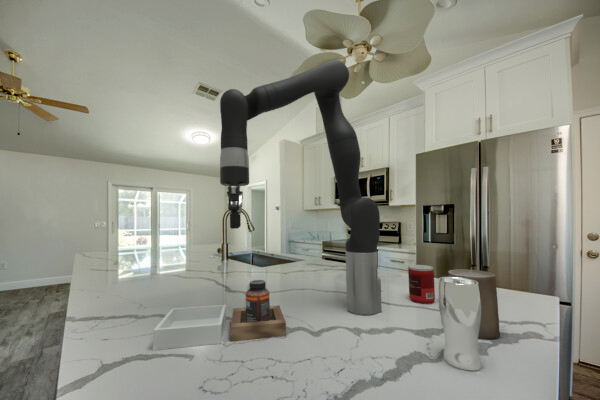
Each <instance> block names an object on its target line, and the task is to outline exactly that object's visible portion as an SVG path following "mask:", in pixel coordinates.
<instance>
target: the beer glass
mask: <svg viewBox="0 0 600 400" xmlns="http://www.w3.org/2000/svg"><path fill="white" fill-rule="evenodd" d="M437 290H438V292H437V294H438V295H437V297H438V299H437V301H438V310H439V316H440V319H441V324H442V328H443V333H444V348H443V359H444V362H446V363H447V364H448V365H449V366H450V365H451V366H452V367H454V368H456V369H458V370H459V369H460V370H462V371H463V370H464V371H467V372H469V371H470V372H475V371H479V370H481V369H482V360H481V356H480V352H479V345H478V344H479V338H478V335H479V329H480V322H481V299H480V292H479V286H478V282H477V281H475V280H472V279H467V278H460V277H449V276H441V277H438V288H437Z"/></svg>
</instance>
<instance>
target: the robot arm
mask: <svg viewBox="0 0 600 400" xmlns="http://www.w3.org/2000/svg"><path fill="white" fill-rule="evenodd" d="M349 80H350V71H349V68H348V67H347V65H346V64H345V63H344V61H343V62H342V61H341V60H338V59H330V60H328V61H326V62H322V63H321V64H320V63H319V65H317V66H315V67H312V68H310V69H308V70H306V71H304V72H301V73H298V74H295V75H293V76H291V77H287V78H284V79H280V80H278V81H274V82H271V83H266V84H262V85H259V86H256V87H254V88H253V89H251V91H250V92H249V93H248V94H247V95H245V93H243V92H241V91H240V90H238V89H235V88H230V89H227V90H226V91H224V92H223V93H222V95H221V97H220V102H219V109H220V111H219V112H220V120H221V131H220V154H219V175H220V176H219V177H220V178H219V182H220V185H222V186H225V187H227V190H228V191H226V197H227V209H228V213H229V229H232V230H233V229H239V228H241V225H242V222H241V221H242V219H241V214H242V208H243V199H244V194H243V193H244V192H243V191H242V190H241V187H245V186H248V185H249V184H250V160H249V159H250V158H249V154H248V134H247V132H248V121H250V120H252V119H254V118H256V117H258V116H259V115H261V114H264V113H268V112H272V111H275V110H278V109H281V108H284V107H285V106H288V105H291V104H292V103H294V102H296V101H297V100H299V99H302V98H303V97H305V96H307V95H310V94H312V93H313V94H314V97H315V99H316V102H317V105H318V108H319V111H320V114H321V120H322V122H323V128H324V132H325V133H324V134H325V137H326V141H327V146H328V147H327V148H328V151H329V156H330V160H331V164H332V169H333V174H334V178H335V181H336V182H335V183H336V184H337V185H336V186H337V192H338V200H339V208H340V209H339V210H340V215H341V219H342V221H343V223H344V224H345V225H347V226H348V227H349V228H350V235H349V238H348V239H347V240H346V242H345V278H346V279H345V282H346V283H345V286H346V287H345V288H346V293H345V294H346V310H347V311H348V312H350V313H352V314H356V315H359V316H360V315H361V316H363V315H364V316H369V315H370V316H371V315H375V314H377V313H381V312H382V284H381V283H382V282H381V277H379V275H378V244H379V241H380V229H381V227H380V226H381V225H380V224H381V223H380V222H381V220H380V219H381V217H380V210H379V206H378V204H377V202H375V201H374V199H372V198H369V197H362V193H361V189H360V184H359V183H360V182H359V175H360V169H361V168H360V167H361V150H360V145H359V140H358V135H357V132H356V131H355V129H354V127H353V126H352V124H351V123H350V122H349V120H348V119H347V118H346V116H345V115H344V111H343V110H342V106H341V99H340V93H341V92H342V91H343V89H344V88H345V87H346V86H347V84H348V82H349Z"/></svg>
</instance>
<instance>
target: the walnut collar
mask: <svg viewBox="0 0 600 400" xmlns="http://www.w3.org/2000/svg"><path fill="white" fill-rule="evenodd" d="M286 328H287V321H286V320H285V317H284V314H283V311H282V308H281V306H280V305H270V321H259V322H247V323H246V307H239V308H233V311H232V317H231V323H230V342H237V341H238V342H239V341H247V340H256V339H257V340H258V339H259V340H260V339H267V338H270V339H271V338H276V337H279V338H280V337H286V336H287V329H286Z"/></svg>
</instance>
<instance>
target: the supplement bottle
mask: <svg viewBox="0 0 600 400" xmlns="http://www.w3.org/2000/svg"><path fill="white" fill-rule="evenodd" d="M266 285H267V284H266V280H265V279H253V280H251V281H249V289H248V290H247V291H246V293H245V308H246V322H245V323H247V322H259V321H271V320H270V306H271V305H270V303H271V302H270V291H269V289H268V288H266V287H267V286H266Z"/></svg>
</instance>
